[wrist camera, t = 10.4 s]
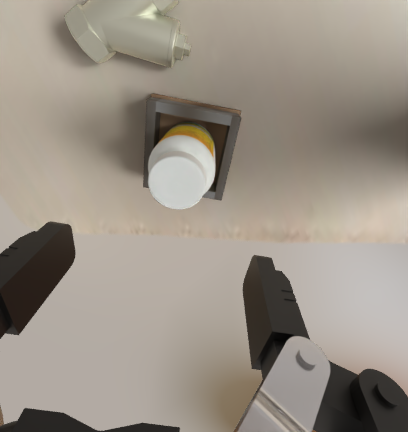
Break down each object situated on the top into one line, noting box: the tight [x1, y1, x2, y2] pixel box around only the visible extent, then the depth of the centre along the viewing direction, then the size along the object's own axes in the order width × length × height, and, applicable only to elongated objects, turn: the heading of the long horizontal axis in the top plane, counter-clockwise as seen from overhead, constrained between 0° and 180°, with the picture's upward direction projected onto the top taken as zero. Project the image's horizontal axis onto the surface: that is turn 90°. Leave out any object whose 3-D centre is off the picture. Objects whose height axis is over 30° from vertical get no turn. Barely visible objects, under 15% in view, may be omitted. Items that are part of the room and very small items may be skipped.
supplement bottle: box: [148, 122, 215, 209], centre depth 20 cm, size 5×5×10 cm
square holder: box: [143, 94, 241, 200], centre depth 24 cm, size 9×9×3 cm
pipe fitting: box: [64, 0, 191, 68], centre depth 19 cm, size 8×4×7 cm
